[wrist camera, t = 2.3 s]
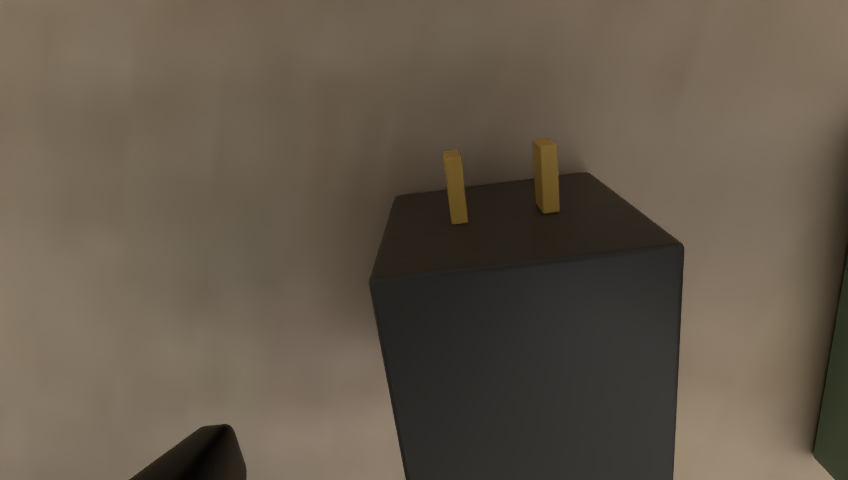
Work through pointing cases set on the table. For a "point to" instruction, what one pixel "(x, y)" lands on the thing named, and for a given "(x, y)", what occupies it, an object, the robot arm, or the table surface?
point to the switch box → (836, 398)
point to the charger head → (529, 329)
